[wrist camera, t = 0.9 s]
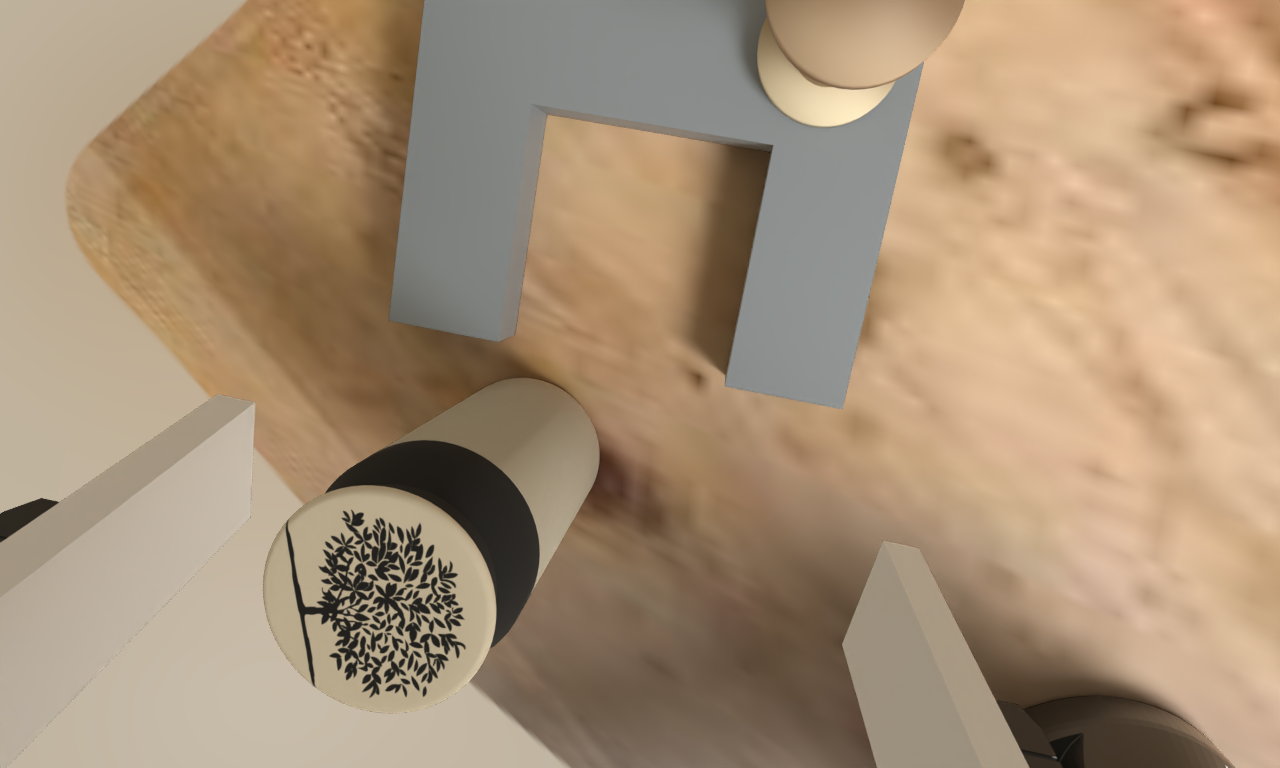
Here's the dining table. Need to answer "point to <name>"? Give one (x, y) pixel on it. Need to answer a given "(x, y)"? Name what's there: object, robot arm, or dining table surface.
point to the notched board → (655, 102)
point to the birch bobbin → (845, 53)
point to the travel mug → (430, 547)
